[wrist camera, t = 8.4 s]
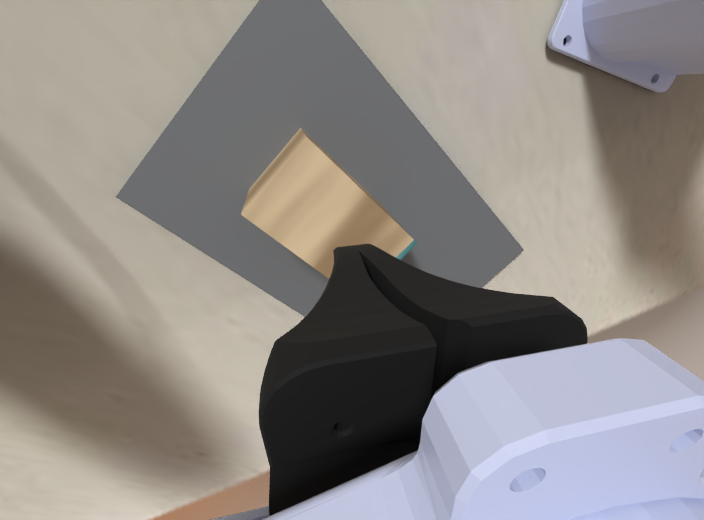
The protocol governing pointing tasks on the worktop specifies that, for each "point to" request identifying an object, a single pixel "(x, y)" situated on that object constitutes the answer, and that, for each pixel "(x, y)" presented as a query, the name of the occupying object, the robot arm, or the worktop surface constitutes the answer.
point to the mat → (330, 134)
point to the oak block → (319, 207)
